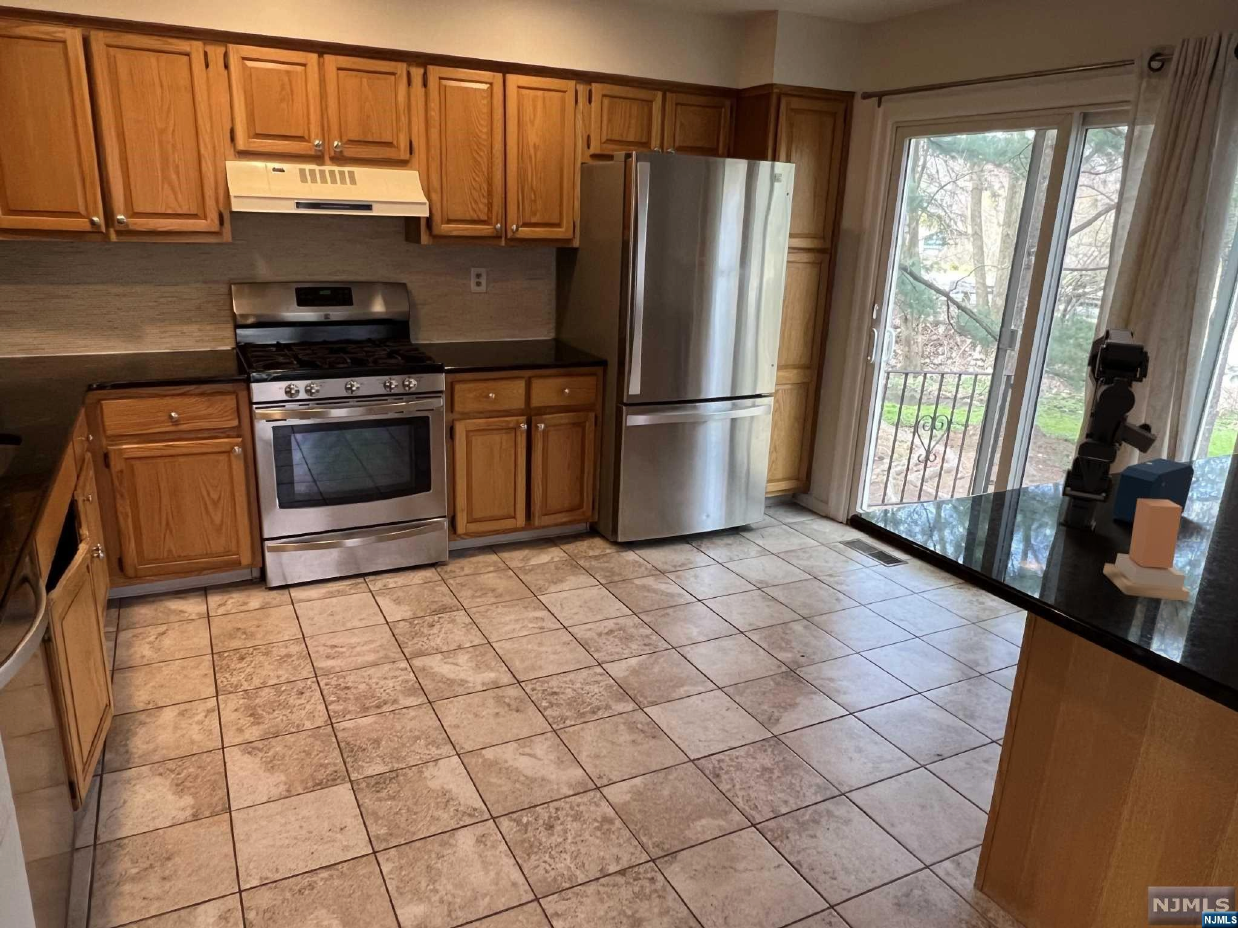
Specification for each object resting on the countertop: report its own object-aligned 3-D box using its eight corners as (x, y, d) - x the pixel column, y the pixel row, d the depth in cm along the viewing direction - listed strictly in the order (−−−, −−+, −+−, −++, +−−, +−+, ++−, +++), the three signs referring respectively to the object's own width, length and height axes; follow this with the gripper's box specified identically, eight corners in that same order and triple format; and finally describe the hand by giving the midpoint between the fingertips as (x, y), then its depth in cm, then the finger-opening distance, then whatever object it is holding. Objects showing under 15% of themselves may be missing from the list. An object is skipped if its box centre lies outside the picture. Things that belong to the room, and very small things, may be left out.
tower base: (1102, 575, 157) (1105, 563, 156) (1160, 581, 155) (1163, 569, 155) (1124, 598, 147) (1127, 584, 147) (1186, 605, 146) (1189, 591, 145)
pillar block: (1128, 557, 153) (1137, 498, 150) (1158, 558, 152) (1167, 499, 150) (1141, 566, 148) (1150, 505, 145) (1172, 567, 147) (1182, 507, 145)
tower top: (1114, 565, 155) (1117, 553, 154) (1161, 571, 154) (1165, 558, 153) (1132, 583, 147) (1136, 569, 147) (1182, 588, 146) (1185, 575, 146)
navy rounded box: (1145, 505, 200) (1166, 423, 195) (1186, 516, 194) (1208, 431, 188) (1103, 518, 188) (1124, 431, 183) (1145, 531, 181) (1168, 441, 176)
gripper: (1157, 422, 149) (1136, 506, 153) (1161, 407, 164) (1142, 484, 168) (1086, 411, 155) (1068, 492, 159) (1097, 398, 170) (1080, 472, 174)
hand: (1092, 485), depth 165 cm, fingers open, 9 cm apart
